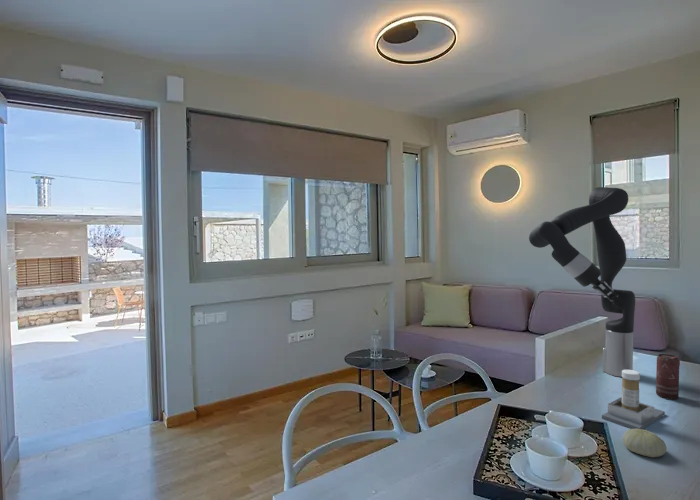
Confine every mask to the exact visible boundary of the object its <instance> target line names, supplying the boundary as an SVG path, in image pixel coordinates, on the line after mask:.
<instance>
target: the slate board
mask: <svg viewBox="0 0 700 500" xmlns="http://www.w3.org/2000/svg"><path fill="white" fill-rule="evenodd" d="M665 415H666V412H665V411H664V410H660V409H657V408H655V407H654V417H653V418H651V419H649V420H648V421H646V422H645V423H643V424H642V425H640V424H637V423H634V422H631V421H628V420H625V419H622V418H619V417H616V416H613V415H610V414H608V411H607V412H604V413H603V414H602V415H601V419H602V420H606V421H609V422H611V423H614V424H616V425H621V426H622V427H625V428H628V429H636V428H637V429H643V430H645V428H647V427H648V426H650V425H651V424H653V423H655V422H656V421H657V420H659V419H660V418H662V417H664V416H665Z"/></svg>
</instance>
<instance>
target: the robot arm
mask: <svg viewBox="0 0 700 500" xmlns="http://www.w3.org/2000/svg"><path fill="white" fill-rule="evenodd" d="M628 202H629V194H628V192H627V191H626V190H624V189H622V188H619V187H607V186H606V187H605V186H599V187H598V186H597V187H595V188H593V189H592V190H591V191H590V194H589V197H588V205H583V206H580V207H575V208H572V209H569V210H567V211H565V212H563V213H560V214H559V215H557V216H555V217H554V218H553V219H551V220H550V221H548V220H547V221H543V222H540V224H539V225H537V226H536V227H535V228H534V229H532V231H530V234H529V236H528V240H529V243H530V244H531V245H532V246H533V247H535V248H545V247H547V246H551V248H552V249H553V250H552V252H551V258H553V259H554V261H556V262H557V263H558V264H559V265H560V266H561V267H563V269H564V270H565V271H566V272H567V274H569V275H570V276H571V277H572V278H573V279H574V280H575V281H576V282H578V284H580V285H581V287H584V288H585V287H588V286H590V285H591V286H592V287H591V288H592V289H593V290H594V291H596V292H597V293H598V294H600V296H601V297H600V299H601V307H602V309H603V311H605V312H607V313H613V314H622V317H621V318H618V319H613V320H609V321H607V322H605V346H604V347H603V348H602V372H604V373H606V374H608V375H610V376H615V377H618V378H619V377H621V378H622V370H634V367H633V366H634V365H633V364H634V327H635V310H636V295H635V293H634V291H632V290H628V289H627V290H626V289H615V288H614V289H613V282H614V280H615V278H616V276H617V275H618V274H619V272H621V270H622V268H624V266H625V264H626V262H627V250H626V249H627V248H626V243H625V241H624V239H623V237H622V236H621V234H620V233H619V232H618V230H617V229H616V227H615V226H614V225H613V222H612V221H611V217H610V216H614V215H616V214H619V213H621V212H622V211H624V210H625V209H626V207H627V206H628V204H629V203H628ZM589 223H592V224H593V229H594V233H595V234H594V235H595V241H596V243H595V244H596V253H597V259H598V260H597V261H598V266H596V264H595V263H593V262H592V261H591V259H588V257H587V256H585V255H584V254H583V253H581V252H580V251H579V250H578V249H576V248H575V247H574V246H573V245H572V244H571V243H570V242H569V240H568V238H567V236H566V235H568V234H571V233H573V231H576V230H577V229H579V228H581V227H583V226H586V225H588V224H589ZM599 278H600V279H599Z"/></svg>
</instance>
